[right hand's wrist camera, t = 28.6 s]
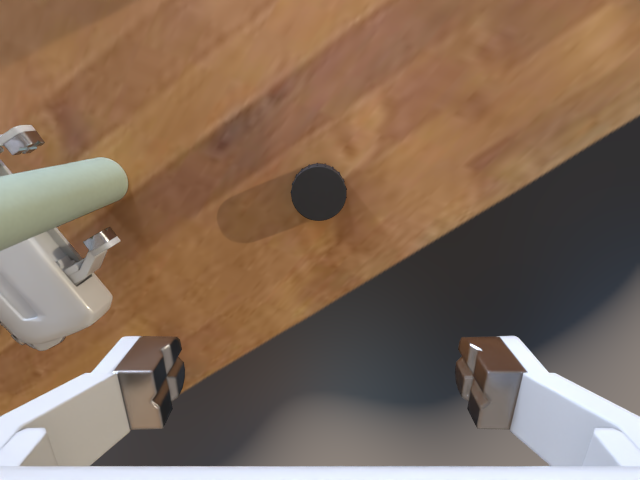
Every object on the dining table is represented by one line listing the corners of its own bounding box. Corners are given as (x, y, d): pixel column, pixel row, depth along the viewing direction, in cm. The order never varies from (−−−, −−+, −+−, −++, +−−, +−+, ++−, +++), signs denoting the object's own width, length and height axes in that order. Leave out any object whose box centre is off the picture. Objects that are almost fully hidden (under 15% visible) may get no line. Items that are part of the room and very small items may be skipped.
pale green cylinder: (77, 158, 34) (-159, 200, 17) (123, 156, 33) (-69, 197, 17) (88, 203, 35) (-121, 283, 18) (132, 201, 35) (-37, 280, 18)
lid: (355, 200, 35) (357, 205, 33) (308, 225, 36) (308, 231, 34) (329, 152, 33) (330, 155, 32) (281, 179, 34) (279, 183, 32)
